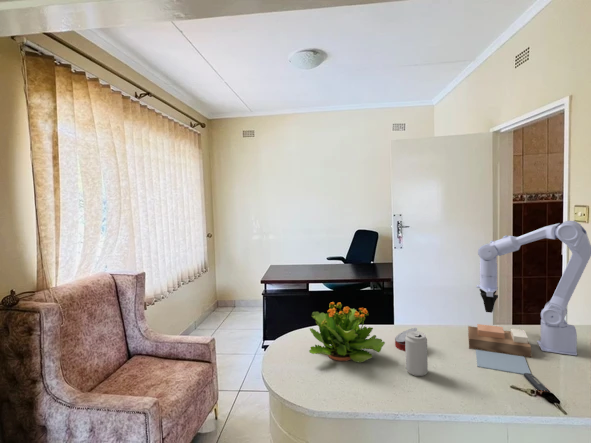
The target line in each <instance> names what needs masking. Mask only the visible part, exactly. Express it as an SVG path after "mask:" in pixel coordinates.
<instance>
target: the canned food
mask: <svg viewBox="0 0 591 443" xmlns="http://www.w3.org/2000/svg"><path fill="white" fill-rule="evenodd" d="M410 331H418V327H413V328H412V327H411V328H409V329H406V330H404V331H402V332H400V333H398V335H396V337H394V340H395V341H394V344H395V348H396V349H398V350H400V351H402V352H405V337H406V333H407V332H410Z"/></svg>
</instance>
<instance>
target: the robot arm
mask: <svg viewBox="0 0 591 443" xmlns="http://www.w3.org/2000/svg"><path fill="white" fill-rule="evenodd" d="M543 239H548V240H549V239H550V240H556V239H559V240H560V241H561V242H562V243H563V244H565V245H566V246H567V248H568V249H569V250H570V251H571V253H572V254H571V256H570V259H569V261H568V262H567V264H566V267H565V269H564V271H563V273H562V276H561V277H560V280H559V282H558V283H557V286H556V289H555V290H554V293H553V295H552V297H551V298H550V300H549V301H547V302H546V303H545V305H544V308H542V309H541V312H540V318H541V319H540V340H536V343H537V344H538V346H539V348H540V349H541V351H542V352H547V353H554V354H563V355H570V356H578V353H577V350H578V349H577V348H578V347H577V344H578V341H577V340H578V339H577V337H578V333H577V329H576V326H575V325H573V324H569V323H568V322H567V321H566V319H565V317H566V316H567V314H568V309H567V307H568V305H569V302H570V300H571V298H572V296H573V294H574V292H575V289H576V288H577V286H578V284H579V282H580V279H581V277H582V276H583V273H584V271H585V269H586V267H587V266H588V263H589V261H590V260H591V242H590V240H589V236H588V233H587V230H586V229H585V228H584V227H583V226H582V225H581V223H579V222H578V221H576V220H567V221H564V222H562V223H560V222H558V223H555V224H550V225H546V226H543V227H540V228H538V229H536V230H535V229H534V230H533V231H530V232H527V233H525V234H522V235H520V236H515V235H514V236H513V235H507V234H506V235H504V236H502V238H500V239H497V240H490V241H489V243H485V244H483V245H481V246H480V247H479V248H478V251H477V255H478V256H479V284H476V288H477V289H479V292H480V293H479V294H480V297H481V298H482V300H483V306H484V311H485V312H486V313H493V311H494V308H495V303H496V301H497V299H498V297H499V295H498V294H496V293H497V291H498V288H499V287H498V263H497V262H498V261H497V259H498V256H501V257H502V256H504V255H507V254H510V253H514V252H517V251H519V250H520V249H521V246H522V245H526V244H530V243H532V242H536V241H539V240H543Z"/></svg>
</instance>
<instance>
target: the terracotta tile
mask: <svg viewBox="0 0 591 443" xmlns="http://www.w3.org/2000/svg"><path fill="white" fill-rule="evenodd" d="M476 327H477V330H478V336H486V337H494V338H501V339H504V331H505V330H504V327H503V326H497V325H489V324H479V323H477V325H476Z"/></svg>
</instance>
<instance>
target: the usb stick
mask: <svg viewBox="0 0 591 443" xmlns="http://www.w3.org/2000/svg"><path fill="white" fill-rule="evenodd" d="M530 373H531V372H530ZM530 373H524V375H523V378H525V379H526V381H527V382H528V383H529V384H530V385H531V386H532V387H533V388H534V389H535V390H536V389H537V390H542V391H544V390H545V391H548V392H550V393H551V391H550V390H549V389H548V388H547V387H546V386H545V385H544V384H543V383H542V382H540V380H539V379H538V378H536V377H535V375H533V373H531V374H530ZM537 390H536V391H537Z"/></svg>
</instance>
